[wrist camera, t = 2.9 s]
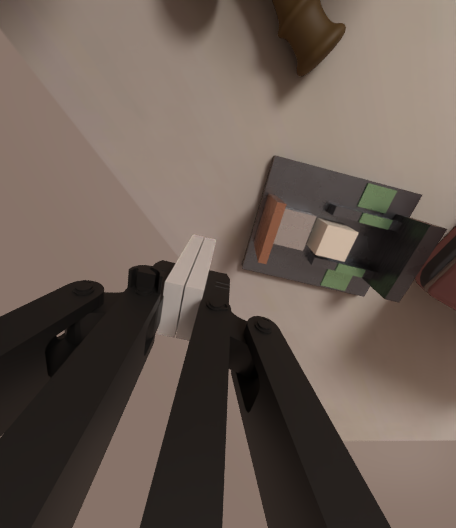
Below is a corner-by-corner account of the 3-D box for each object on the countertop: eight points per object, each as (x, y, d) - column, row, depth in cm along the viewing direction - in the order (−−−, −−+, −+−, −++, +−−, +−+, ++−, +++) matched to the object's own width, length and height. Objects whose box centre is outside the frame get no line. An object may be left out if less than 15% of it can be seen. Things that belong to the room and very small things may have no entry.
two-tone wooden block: (253, 242, 33) (257, 262, 26) (268, 193, 30) (277, 202, 23) (296, 252, 33) (311, 274, 27) (315, 205, 30) (336, 217, 24)
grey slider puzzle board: (241, 265, 36) (243, 288, 29) (273, 155, 29) (284, 153, 23) (360, 292, 37) (387, 320, 31) (415, 193, 31) (464, 202, 24)
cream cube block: (306, 244, 33) (315, 254, 29) (317, 217, 31) (328, 224, 28) (332, 250, 33) (344, 261, 29) (344, 224, 31) (358, 232, 28)
